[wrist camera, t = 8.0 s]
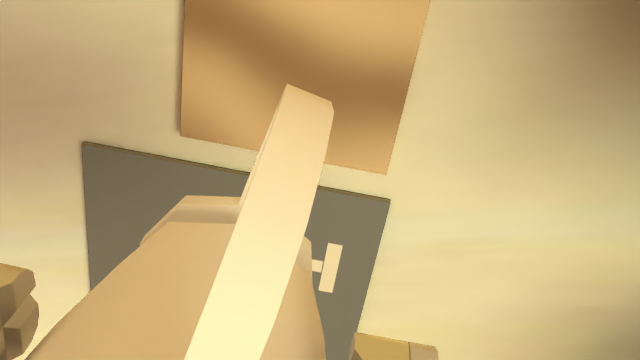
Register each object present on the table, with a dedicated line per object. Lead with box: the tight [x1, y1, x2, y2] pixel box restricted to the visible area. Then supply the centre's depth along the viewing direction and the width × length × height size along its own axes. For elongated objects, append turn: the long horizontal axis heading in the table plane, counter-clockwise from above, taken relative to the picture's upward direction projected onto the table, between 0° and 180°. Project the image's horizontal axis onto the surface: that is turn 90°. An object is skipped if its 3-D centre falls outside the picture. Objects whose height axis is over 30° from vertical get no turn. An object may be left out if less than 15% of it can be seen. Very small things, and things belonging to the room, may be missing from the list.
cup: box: [25, 84, 334, 360], centre depth 11 cm, size 7×10×8 cm
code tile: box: [82, 142, 390, 360], centre depth 30 cm, size 13×14×1 cm
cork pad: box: [180, 0, 430, 175], centre depth 24 cm, size 9×9×1 cm
